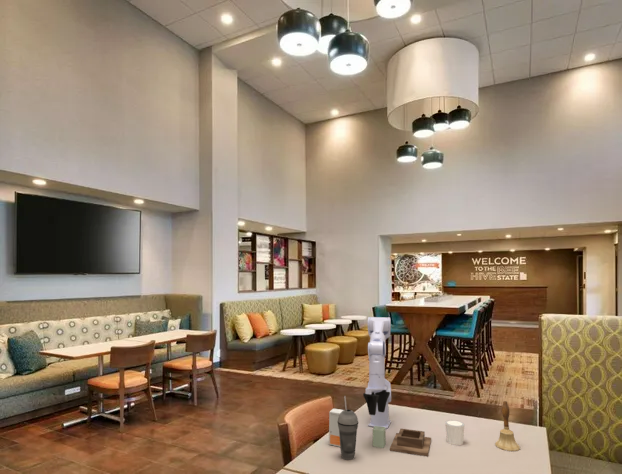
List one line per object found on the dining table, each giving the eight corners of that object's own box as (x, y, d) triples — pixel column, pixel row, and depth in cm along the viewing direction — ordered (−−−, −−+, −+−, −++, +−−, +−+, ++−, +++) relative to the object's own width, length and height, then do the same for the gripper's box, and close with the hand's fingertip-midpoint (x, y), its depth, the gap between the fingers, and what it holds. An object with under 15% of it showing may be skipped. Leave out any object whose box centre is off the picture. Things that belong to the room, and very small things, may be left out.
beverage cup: (352, 463, 138) (352, 401, 140) (333, 458, 142) (333, 397, 143) (362, 455, 144) (362, 395, 146) (343, 450, 148) (343, 392, 150)
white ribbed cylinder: (442, 442, 156) (441, 423, 157) (450, 437, 161) (449, 418, 162) (460, 447, 151) (459, 427, 152) (467, 442, 156) (467, 422, 157)
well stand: (396, 435, 162) (396, 424, 163) (431, 440, 158) (431, 429, 158) (389, 450, 148) (389, 438, 149) (427, 456, 144) (427, 444, 144)
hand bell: (495, 449, 150) (494, 403, 152) (494, 440, 158) (492, 397, 159) (521, 452, 147) (519, 406, 149) (518, 444, 155) (517, 399, 157)
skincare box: (328, 445, 153) (328, 411, 154) (333, 441, 157) (333, 408, 158) (343, 448, 150) (343, 413, 151) (348, 444, 154) (348, 410, 155)
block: (374, 442, 156) (374, 425, 156) (385, 444, 154) (385, 427, 155) (372, 446, 152) (372, 429, 152) (383, 448, 150) (383, 430, 151)
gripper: (378, 376, 147) (378, 417, 144) (394, 374, 159) (395, 412, 156) (360, 374, 151) (360, 415, 148) (377, 372, 163) (377, 409, 160)
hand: (376, 413), depth 152 cm, fingers open, 7 cm apart
